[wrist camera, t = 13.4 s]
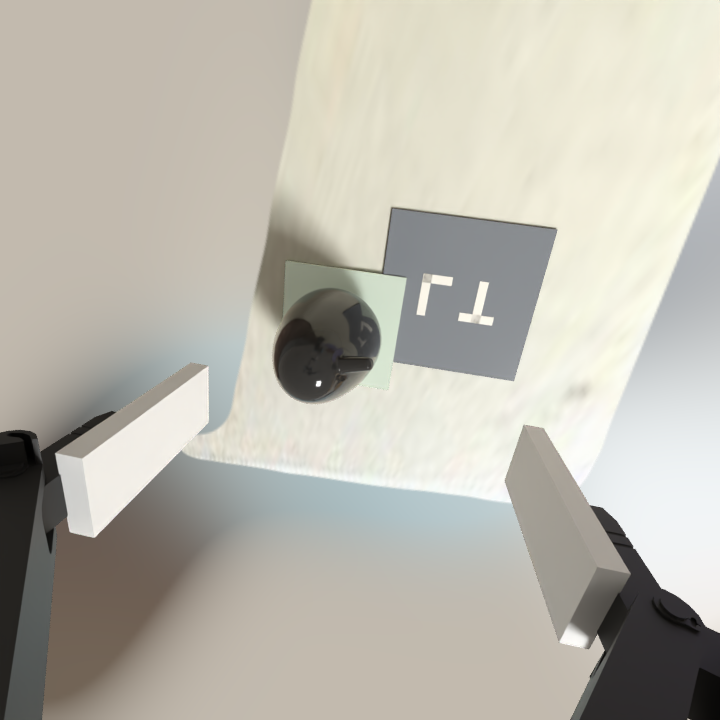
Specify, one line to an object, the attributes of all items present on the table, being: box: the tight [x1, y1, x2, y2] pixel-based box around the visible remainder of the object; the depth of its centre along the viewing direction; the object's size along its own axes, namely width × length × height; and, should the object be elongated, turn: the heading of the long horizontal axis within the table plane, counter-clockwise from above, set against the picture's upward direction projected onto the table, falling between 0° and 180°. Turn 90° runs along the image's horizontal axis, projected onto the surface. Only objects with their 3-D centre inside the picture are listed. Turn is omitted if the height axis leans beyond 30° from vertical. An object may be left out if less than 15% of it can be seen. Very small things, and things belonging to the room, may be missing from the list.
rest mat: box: [283, 261, 407, 390], centre depth 43 cm, size 13×13×1 cm
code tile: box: [383, 208, 557, 381], centre depth 40 cm, size 16×16×1 cm
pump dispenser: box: [272, 288, 382, 404], centre depth 36 cm, size 10×10×15 cm
